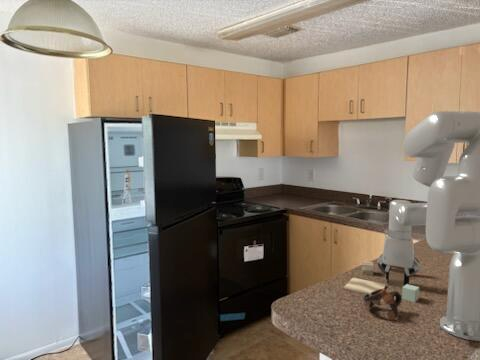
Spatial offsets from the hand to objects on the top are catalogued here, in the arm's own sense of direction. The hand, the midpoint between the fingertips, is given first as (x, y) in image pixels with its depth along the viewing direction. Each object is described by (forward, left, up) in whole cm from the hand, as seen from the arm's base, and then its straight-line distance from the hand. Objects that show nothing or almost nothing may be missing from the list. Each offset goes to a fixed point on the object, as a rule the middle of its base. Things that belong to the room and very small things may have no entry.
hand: (397, 282), depth 134 cm
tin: (+12, +2, -1) cm, 12 cm away
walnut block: (0, 0, -1) cm, 1 cm away
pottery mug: (-26, -1, -1) cm, 27 cm away
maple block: (+6, +12, -1) cm, 13 cm away
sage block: (-11, -6, -1) cm, 13 cm away
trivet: (-10, +9, -1) cm, 14 cm away
